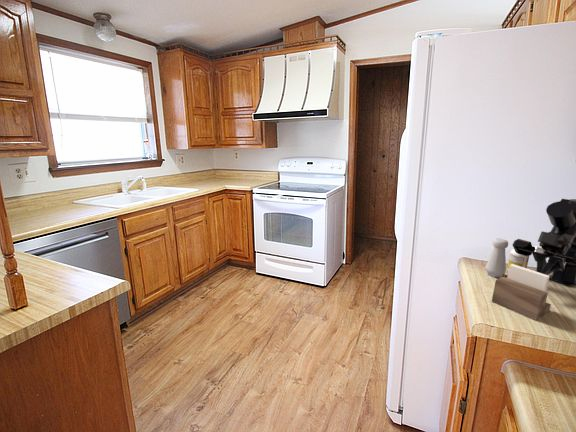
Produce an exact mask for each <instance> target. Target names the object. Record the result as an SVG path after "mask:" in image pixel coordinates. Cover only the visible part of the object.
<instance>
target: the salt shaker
mask: <svg viewBox="0 0 576 432" xmlns="http://www.w3.org/2000/svg"><path fill="white" fill-rule="evenodd" d="M492 245H493V248H492V251H491V253H490V256H489V258H488V261H487V263H486V265H485V271H486V273H487V276H490V277H492V278H497V279H499V278H501V277H503V275H505V273H506V270H507V268H506V267H507V266H506V265H507V263H506V249H507V248H508V246H509V241H508V240H506V239H505V238H494V239H493V241H492Z"/></svg>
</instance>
